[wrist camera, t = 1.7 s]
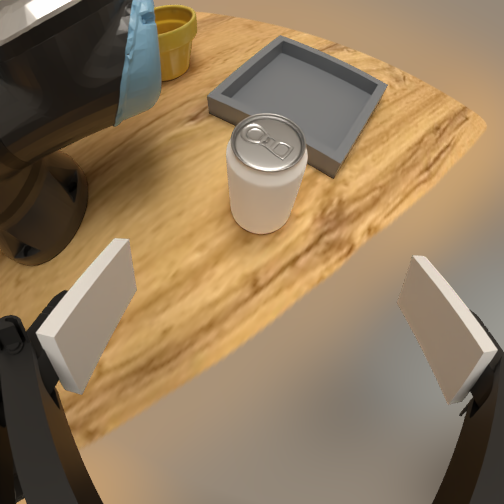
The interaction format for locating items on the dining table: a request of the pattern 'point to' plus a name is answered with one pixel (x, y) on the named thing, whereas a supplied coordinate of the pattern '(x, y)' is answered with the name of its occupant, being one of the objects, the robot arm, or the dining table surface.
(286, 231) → the dining table surface
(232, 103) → the tray
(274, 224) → the can
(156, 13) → the plant pot
